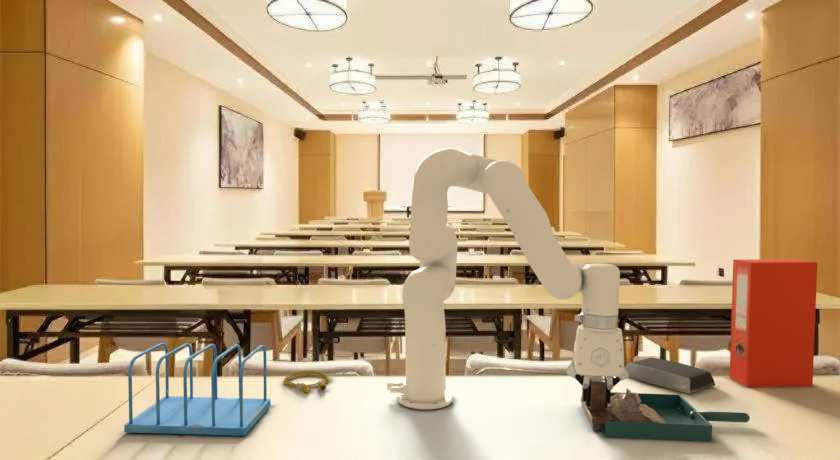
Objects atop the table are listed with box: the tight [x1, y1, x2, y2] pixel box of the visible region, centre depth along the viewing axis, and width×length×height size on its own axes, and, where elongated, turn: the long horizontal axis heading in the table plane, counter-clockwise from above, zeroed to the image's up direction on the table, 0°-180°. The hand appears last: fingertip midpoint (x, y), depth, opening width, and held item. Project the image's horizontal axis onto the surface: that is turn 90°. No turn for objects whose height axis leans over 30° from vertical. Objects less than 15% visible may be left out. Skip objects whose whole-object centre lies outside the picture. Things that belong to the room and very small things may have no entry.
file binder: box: [729, 258, 818, 388], centre depth 153 cm, size 8×17×32 cm, turn 93°
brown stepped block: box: [580, 376, 612, 431], centre depth 126 cm, size 4×14×9 cm, turn 174°
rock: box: [606, 388, 666, 423], centre depth 123 cm, size 6×14×7 cm, turn 33°
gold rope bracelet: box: [283, 370, 330, 393], centre depth 152 cm, size 12×16×2 cm
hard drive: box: [625, 357, 716, 394], centre depth 154 cm, size 13×19×4 cm
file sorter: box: [123, 342, 272, 437], centre depth 126 cm, size 25×17×15 cm
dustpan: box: [601, 391, 751, 442], centre depth 125 cm, size 31×19×3 cm, turn 84°
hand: (595, 404), depth 126 cm, fingers closed on brown stepped block, 3 cm apart
